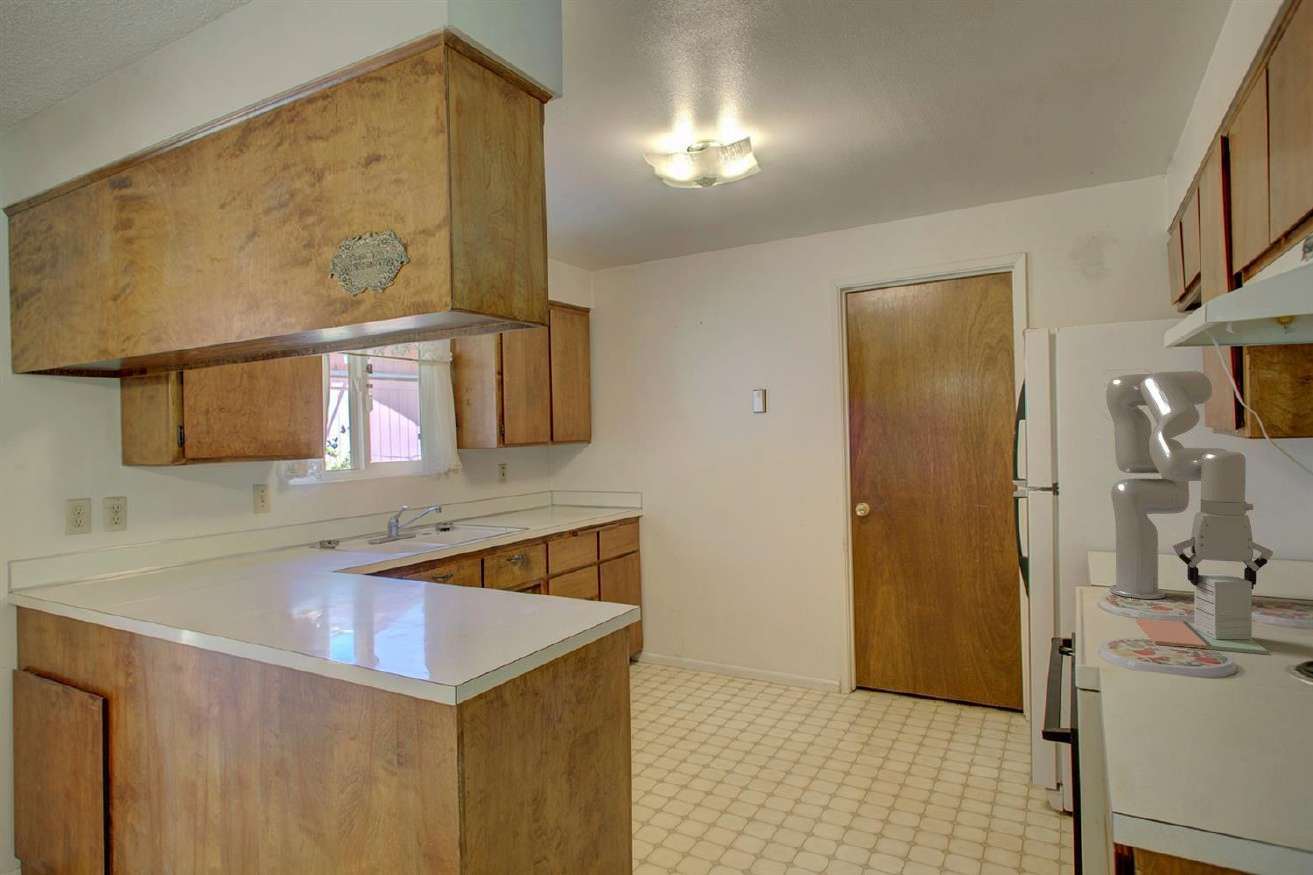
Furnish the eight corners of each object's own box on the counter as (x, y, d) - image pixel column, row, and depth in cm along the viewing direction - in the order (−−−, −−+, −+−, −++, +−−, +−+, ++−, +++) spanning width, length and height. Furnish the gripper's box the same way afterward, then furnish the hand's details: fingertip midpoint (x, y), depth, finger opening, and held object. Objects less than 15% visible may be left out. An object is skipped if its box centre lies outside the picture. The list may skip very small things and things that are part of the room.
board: (1135, 621, 166) (1135, 617, 166) (1235, 629, 159) (1235, 625, 158) (1155, 644, 150) (1155, 640, 150) (1267, 654, 142) (1267, 650, 142)
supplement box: (1228, 629, 156) (1229, 573, 155) (1252, 640, 148) (1253, 581, 148) (1192, 628, 157) (1193, 573, 156) (1214, 639, 149) (1215, 580, 149)
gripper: (1265, 507, 152) (1264, 584, 153) (1169, 504, 159) (1168, 578, 160) (1280, 512, 145) (1278, 593, 146) (1178, 509, 152) (1177, 587, 153)
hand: (1221, 585), depth 153 cm, fingers open, 9 cm apart
